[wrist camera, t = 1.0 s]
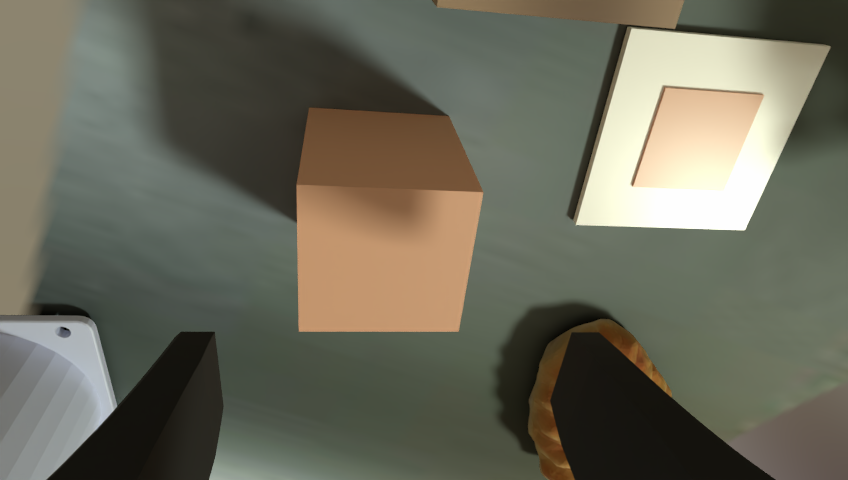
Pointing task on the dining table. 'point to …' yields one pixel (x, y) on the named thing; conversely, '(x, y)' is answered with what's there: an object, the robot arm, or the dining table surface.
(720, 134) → the card
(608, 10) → the walnut block
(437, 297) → the tan block
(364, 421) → the dining table surface
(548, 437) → the pastry
